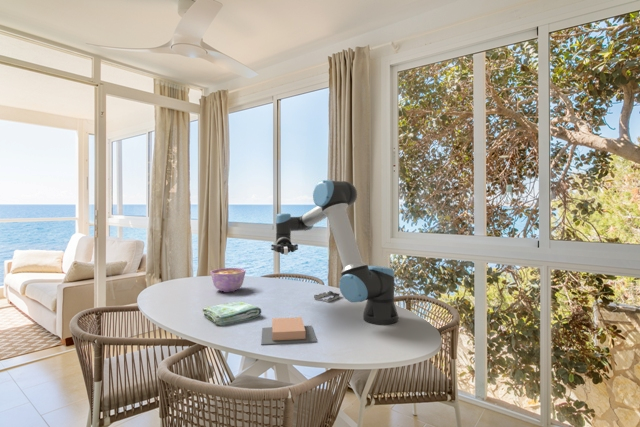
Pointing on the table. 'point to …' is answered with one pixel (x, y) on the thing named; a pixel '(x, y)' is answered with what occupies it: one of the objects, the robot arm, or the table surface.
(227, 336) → the table surface
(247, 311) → the towel
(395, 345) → the table surface
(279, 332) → the terracotta slab
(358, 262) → the robot arm
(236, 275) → the bowl of food
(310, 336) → the charcoal mat
